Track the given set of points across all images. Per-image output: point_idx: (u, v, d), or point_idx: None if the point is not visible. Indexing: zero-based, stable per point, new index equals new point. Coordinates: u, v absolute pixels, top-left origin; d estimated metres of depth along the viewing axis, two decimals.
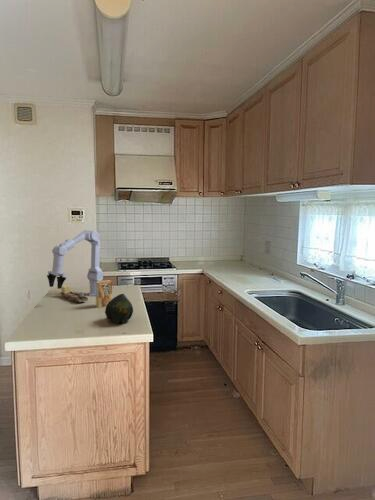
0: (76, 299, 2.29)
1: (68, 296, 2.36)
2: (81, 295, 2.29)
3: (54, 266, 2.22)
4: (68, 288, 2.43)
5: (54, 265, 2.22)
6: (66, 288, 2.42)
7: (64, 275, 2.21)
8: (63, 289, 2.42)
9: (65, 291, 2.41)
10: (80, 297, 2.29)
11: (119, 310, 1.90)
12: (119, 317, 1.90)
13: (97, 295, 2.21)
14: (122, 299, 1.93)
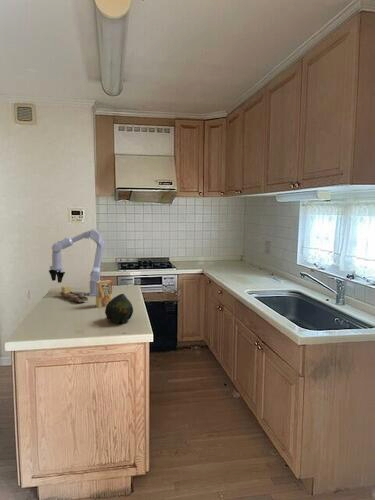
0: (76, 299, 2.29)
1: (68, 296, 2.36)
2: (81, 295, 2.29)
3: (53, 262, 2.40)
4: (68, 288, 2.43)
5: (53, 261, 2.40)
6: (66, 288, 2.42)
7: (62, 270, 2.38)
8: (63, 289, 2.42)
9: (65, 291, 2.41)
10: (80, 297, 2.29)
11: (119, 310, 1.90)
12: (119, 317, 1.90)
13: (97, 295, 2.21)
14: (122, 299, 1.93)
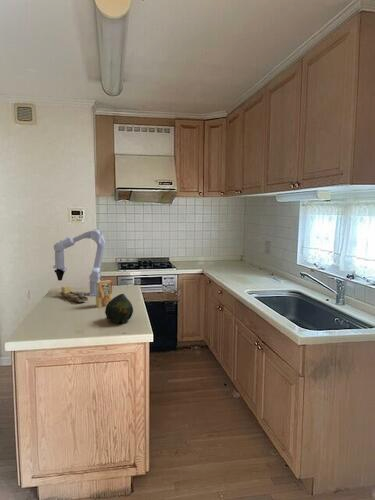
0: (76, 299, 2.29)
1: (68, 296, 2.36)
2: (81, 295, 2.29)
3: (56, 261, 2.44)
4: (68, 288, 2.43)
5: (56, 260, 2.44)
6: (66, 288, 2.42)
7: (65, 269, 2.42)
8: (63, 289, 2.42)
9: (65, 291, 2.41)
10: (80, 297, 2.29)
11: (119, 310, 1.90)
12: (119, 317, 1.90)
13: (97, 295, 2.21)
14: (122, 299, 1.93)
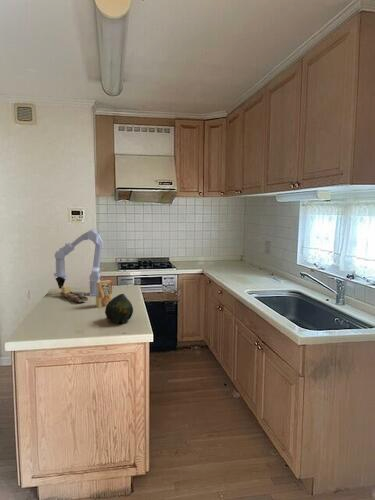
0: (76, 299, 2.29)
1: (68, 296, 2.36)
2: (81, 295, 2.29)
3: (56, 269, 2.44)
4: (68, 288, 2.43)
5: (56, 269, 2.44)
6: (66, 288, 2.42)
7: (65, 277, 2.42)
8: (63, 289, 2.42)
9: (65, 291, 2.41)
10: (80, 297, 2.29)
11: (119, 310, 1.90)
12: (119, 317, 1.90)
13: (97, 295, 2.21)
14: (122, 299, 1.93)
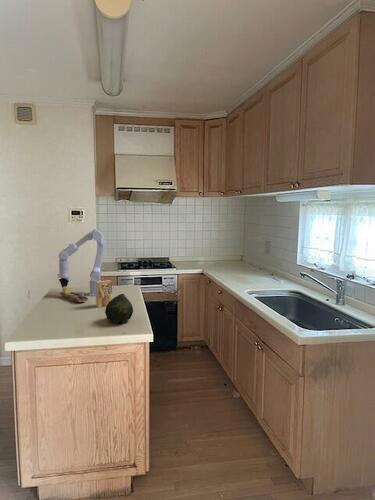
0: (76, 299, 2.29)
1: (68, 296, 2.36)
2: (81, 295, 2.29)
3: (60, 270, 2.41)
4: (69, 288, 2.42)
5: (60, 270, 2.41)
6: (67, 288, 2.41)
7: (69, 278, 2.39)
8: (64, 289, 2.41)
9: (66, 291, 2.41)
10: (80, 297, 2.29)
11: (119, 310, 1.90)
12: (119, 317, 1.90)
13: (97, 295, 2.21)
14: (122, 299, 1.93)
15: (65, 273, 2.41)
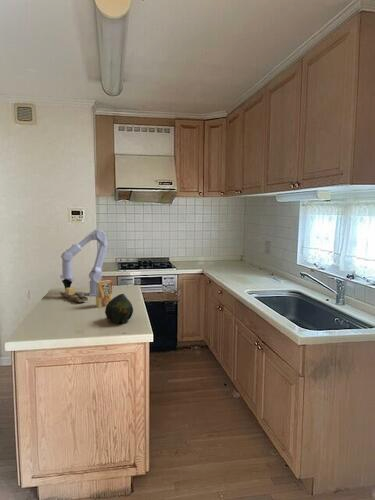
0: (76, 299, 2.29)
1: (68, 296, 2.36)
2: (81, 295, 2.29)
3: (63, 271, 2.38)
4: (72, 289, 2.39)
5: (63, 270, 2.38)
6: (70, 289, 2.38)
7: (72, 279, 2.36)
8: (67, 290, 2.38)
9: (69, 293, 2.38)
10: (80, 297, 2.29)
11: (119, 310, 1.90)
12: (119, 317, 1.90)
13: (97, 295, 2.21)
14: (122, 299, 1.93)
15: (68, 274, 2.39)
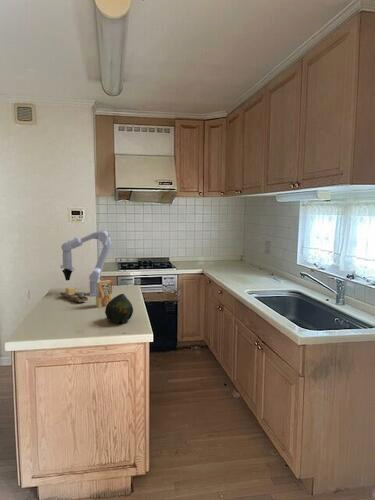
0: (76, 299, 2.29)
1: (68, 296, 2.36)
2: (81, 295, 2.29)
3: (63, 261, 2.45)
4: (72, 289, 2.39)
5: (63, 260, 2.45)
6: (70, 289, 2.38)
7: (73, 269, 2.43)
8: (67, 290, 2.38)
9: (69, 293, 2.38)
10: (80, 297, 2.29)
11: (119, 310, 1.90)
12: (119, 317, 1.90)
13: (97, 295, 2.21)
14: (122, 299, 1.93)
15: (68, 264, 2.45)
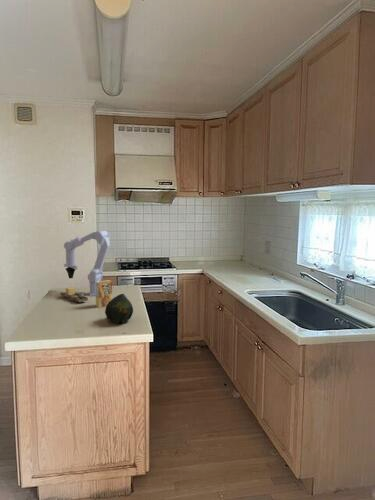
0: (76, 299, 2.29)
1: (68, 296, 2.36)
2: (81, 295, 2.29)
3: (67, 260, 2.52)
4: (72, 289, 2.39)
5: (67, 259, 2.52)
6: (70, 289, 2.38)
7: (75, 267, 2.49)
8: (67, 290, 2.38)
9: (69, 293, 2.38)
10: (80, 297, 2.29)
11: (119, 310, 1.90)
12: (119, 317, 1.90)
13: (97, 295, 2.21)
14: (122, 299, 1.93)
15: (72, 262, 2.52)
